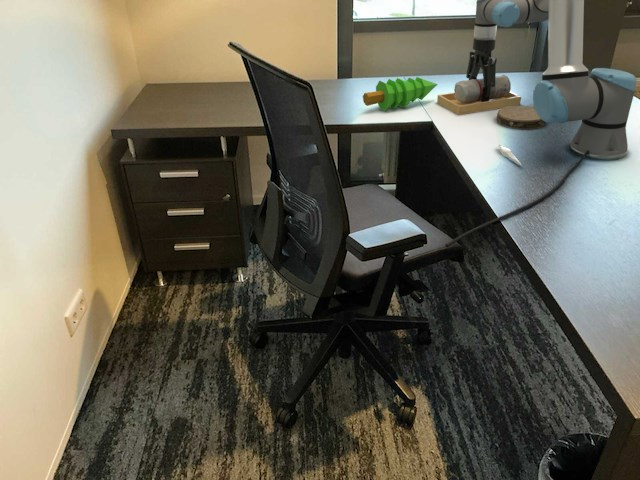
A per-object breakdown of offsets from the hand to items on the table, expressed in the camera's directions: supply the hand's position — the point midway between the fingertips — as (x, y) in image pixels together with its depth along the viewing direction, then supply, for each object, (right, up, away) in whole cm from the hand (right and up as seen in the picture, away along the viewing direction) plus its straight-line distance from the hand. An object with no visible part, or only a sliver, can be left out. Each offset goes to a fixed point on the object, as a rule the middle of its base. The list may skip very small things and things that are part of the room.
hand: (478, 101), depth 206 cm
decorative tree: (-28, -2, +2) cm, 28 cm away
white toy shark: (-4, -28, -44) cm, 52 cm away
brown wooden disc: (+9, -11, -18) cm, 23 cm away
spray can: (+10, +6, +1) cm, 12 cm away
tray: (0, -1, 0) cm, 1 cm away
